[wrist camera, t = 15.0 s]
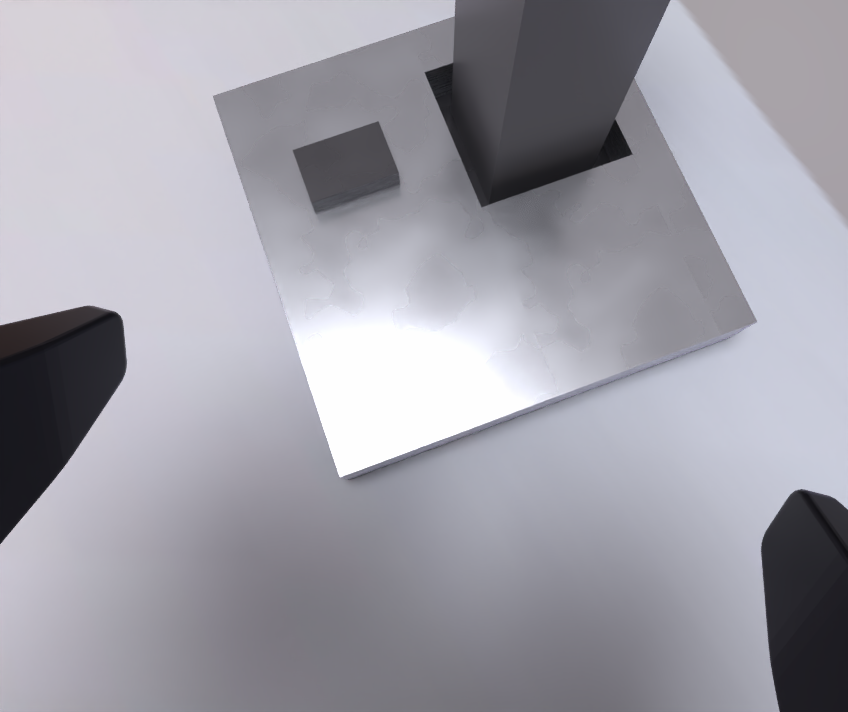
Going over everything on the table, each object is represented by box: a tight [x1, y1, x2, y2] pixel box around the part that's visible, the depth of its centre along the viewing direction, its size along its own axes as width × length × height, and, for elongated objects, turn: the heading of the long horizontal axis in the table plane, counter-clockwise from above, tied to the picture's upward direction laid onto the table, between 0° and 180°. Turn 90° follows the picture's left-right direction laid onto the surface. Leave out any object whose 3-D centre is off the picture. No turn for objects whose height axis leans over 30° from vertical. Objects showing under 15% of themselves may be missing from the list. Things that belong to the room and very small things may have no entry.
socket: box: [213, 17, 757, 480], centre depth 22 cm, size 14×14×3 cm
